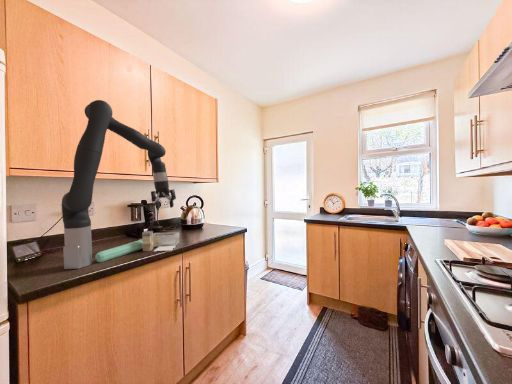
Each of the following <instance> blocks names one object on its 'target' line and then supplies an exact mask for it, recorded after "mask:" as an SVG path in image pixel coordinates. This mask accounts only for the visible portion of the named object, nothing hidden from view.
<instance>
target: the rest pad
mask: <svg viewBox="0 0 512 384" xmlns="http://www.w3.org/2000/svg"><path fill="white" fill-rule="evenodd" d="M176 247H177V246H176V245H175V246H159V247H156V248H155V249H153V250H152V252H153V253H158V252H157V251H165V252H172V251H173V250H174V249H175V248H176ZM173 248H174V249H173Z"/></svg>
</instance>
